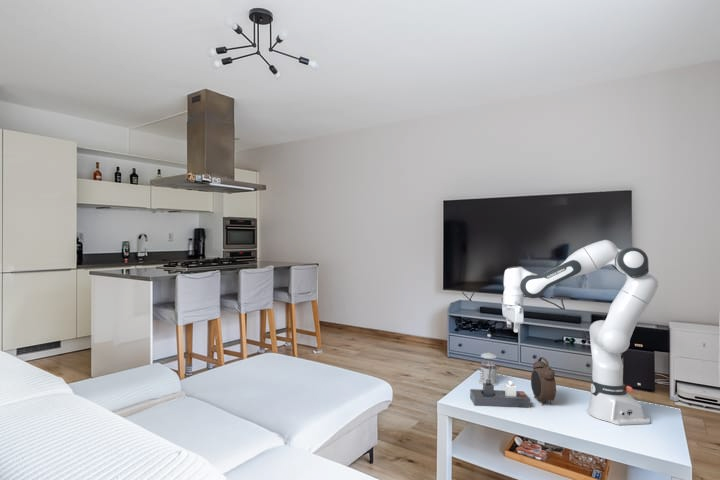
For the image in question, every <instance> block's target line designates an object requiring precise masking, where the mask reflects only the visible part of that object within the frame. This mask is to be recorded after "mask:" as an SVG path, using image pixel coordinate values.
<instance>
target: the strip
mask: <svg viewBox="0 0 720 480" xmlns="http://www.w3.org/2000/svg"><path fill="white" fill-rule="evenodd" d="M469 392H470V393H469V396H470V397H469V398H470V400H471V402H472V404H473V405H474V407H475V406H476V407H496V408H499V407H500V408H520V409H521V408H525V409H531V398H530V396H528V395H527V394H526V393H525V391H524V390H522V391H521V390H516V396H506V395H505V390H501V389H500V390H499V389H498V390H497V389H496V390H495V389H494V395H483V389H476V388H475V389H474V388H471V389H470V391H469Z"/></svg>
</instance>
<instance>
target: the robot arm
mask: <svg viewBox="0 0 720 480" xmlns="http://www.w3.org/2000/svg"><path fill="white" fill-rule="evenodd" d="M606 266H612V268H614V269H615V270H616V271H617V272H619V273H620V274H622V275H624V276H626V279H625V283H624V285H623V286H622V287H621V289H620V290H619V291H618V293H617V294H616V297H615V298H614V299H613V301H612V303H611V304H610V305H609V310H608V313H607V314H606V315H607V316H606V318H605V319H604V320H602V319H600V320H596V321H593V322H592V323H591V325H590V326H589V339H590V342H589V343H590V352H591V357H592V358H591V359H592V360H591V361H592V366H591V367H592V370H591V372H592V373H591V375H592V376H591V379H590V393H591V394H590V400H589V404H588V408H587V410H586V412H587V413H588V415H590V416H592V417H593V418H596V419H598V420H600V421H605V422H609V423H612V424H614V425H616V426H617V425H618V426H623V425H624V426H627V425H629V426H630V425H649V424H651V420H650V418H649V417H648V416H647V415H645V414H644V409H643V406H642V404H640V402H639V401H637V400H636V399H635V397H633V396H632V395H630V394H629V393H632V392H633V390H634V389H633V387H632V386H630V385H626V384H625V383H623V382H624V381H623V378H624V364H623V361H622V356H621V354H622V353H624V352H626V351H627V350H628V349H629V347H630V345H631V343H630V341H631V338H632V335H633V334H634V333H633V332H634V330H635V329H636V325H637V323H638V322H639V319H641V317H642V315H643V314H644V312H645V311H646V309H647V308H648V306H649V304H650V303H651V302H652V300H653V298H654V297H655V295H656V293H657V290H658V287H659V282H658V280H657V278H656V277H655V276H653V275H652V274H650V273H649V272H650V271H649V270H650V269H649V257H648V254H647V253H646V252H645V251H644V250H643V249H641V248H639V247H634V246H633V247H631V246H630V247H627V248H624V249H620V248H618V247H617V245H616V244H615V242H612V241H611V240H608V239H603V240H598V241H595V242H593V243H590V244H587V245H585V246H584V247H581V248H579V249H577V250H576V251H574V252H573V253H572V254H570V255H569V256H568V257H566V259H565V260H564V261H563V262H562V263H561V264H560V265H557V266H555V267H553V268H552V269H550V270H547V271H545V272H543V273H540V274H537V273H534V272H531V271H529V270H527V269H525V268H524V267H523V266H520V265H517V266H510V267H507V268H506V269H505V270H504V273H503V293H502V294H503V295H502V296H501V298H500V300H501V302H502V303H501V310H502V317H504V318H505V320H506V327H507V328H508V329H513V332H514V333H518V332H519V329H520V325H523V324H524V319H525V318H524V308H523V306H524V296H525V297H526V298H529V299H537V298H540V297H541V296H542V295H544V293H545V292H546V291H547V290H548V289H549V288H551V287H553V286H555V285H556V284H558V283H559V284H560V283H561V282H563V281H565V280H567V279H570V278H574V277H578V276H583V275H586V274H589V273H593V272H594V271H597V270H600V269H601V268H604V267H606ZM512 323H513V325H512ZM512 326H513V328H512ZM628 392H629V393H628Z"/></svg>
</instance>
